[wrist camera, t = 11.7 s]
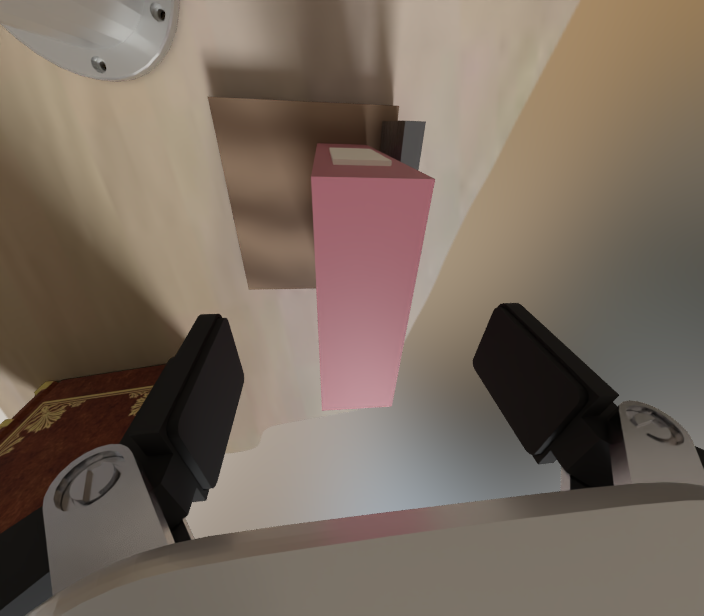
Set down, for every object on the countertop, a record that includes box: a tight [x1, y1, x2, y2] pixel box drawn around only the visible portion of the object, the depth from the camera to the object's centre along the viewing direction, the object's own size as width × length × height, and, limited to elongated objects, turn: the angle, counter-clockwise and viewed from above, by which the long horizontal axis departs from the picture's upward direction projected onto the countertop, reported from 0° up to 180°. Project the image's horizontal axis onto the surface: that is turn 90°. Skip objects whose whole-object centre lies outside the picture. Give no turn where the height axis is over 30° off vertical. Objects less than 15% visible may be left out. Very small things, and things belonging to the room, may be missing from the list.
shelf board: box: [208, 97, 399, 290], centre depth 25 cm, size 16×14×2 cm
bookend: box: [380, 121, 426, 170], centre depth 22 cm, size 14×1×7 cm, turn 178°
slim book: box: [311, 143, 435, 411], centre depth 18 cm, size 12×4×16 cm, turn 178°
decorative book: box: [0, 364, 166, 534], centre depth 25 cm, size 22×8×30 cm, turn 97°
